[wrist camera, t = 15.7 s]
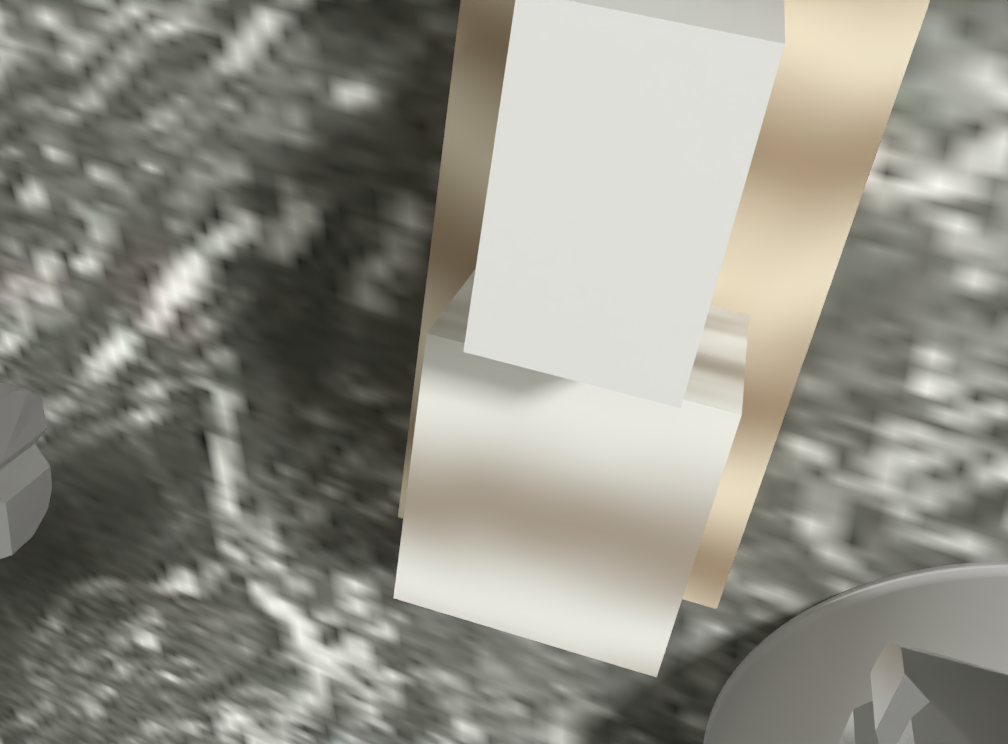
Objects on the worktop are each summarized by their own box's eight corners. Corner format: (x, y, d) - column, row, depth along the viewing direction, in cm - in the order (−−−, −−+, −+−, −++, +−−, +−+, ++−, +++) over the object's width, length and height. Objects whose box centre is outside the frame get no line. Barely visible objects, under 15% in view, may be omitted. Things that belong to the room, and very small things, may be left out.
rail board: (574, -779, 20) (468, -1110, 14) (1173, -732, 19) (1402, -1081, 12) (411, 494, 37) (326, 639, 30) (719, 581, 36) (703, 756, 29)
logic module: (783, -20, 24) (784, 44, 16) (712, 238, 28) (680, 408, 19) (606, -55, 25) (514, -11, 16) (558, 203, 28) (461, 351, 20)
